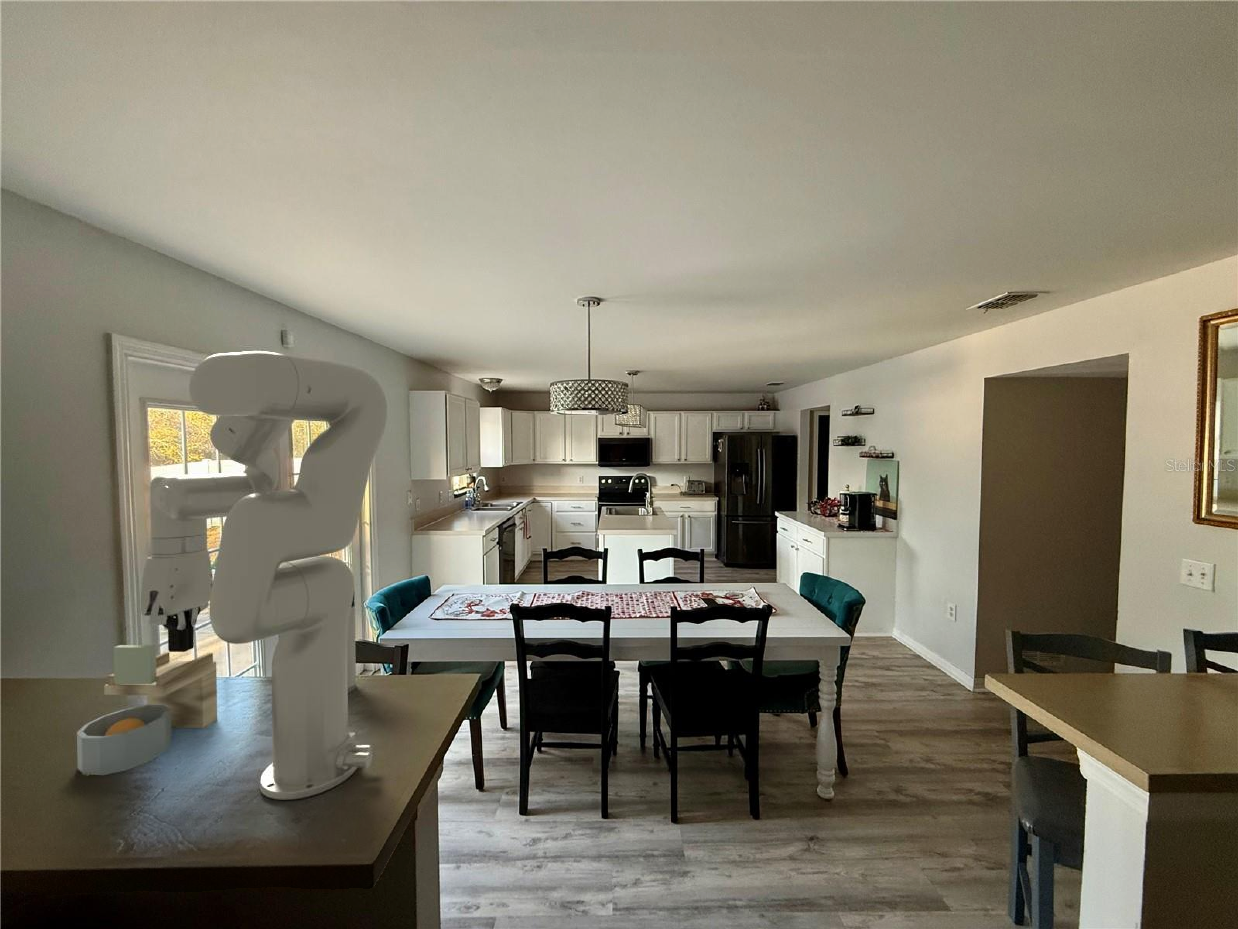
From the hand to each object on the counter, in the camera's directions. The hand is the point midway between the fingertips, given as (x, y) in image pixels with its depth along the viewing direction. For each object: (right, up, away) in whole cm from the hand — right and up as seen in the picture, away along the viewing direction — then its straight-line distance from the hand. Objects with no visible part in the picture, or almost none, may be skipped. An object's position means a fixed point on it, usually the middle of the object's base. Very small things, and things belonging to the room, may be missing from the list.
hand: (181, 650), depth 91 cm
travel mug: (+21, -13, +13) cm, 27 cm away
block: (0, -3, -8) cm, 9 cm away
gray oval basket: (0, -13, -10) cm, 16 cm away
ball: (0, -10, -10) cm, 14 cm away
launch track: (0, -13, -3) cm, 13 cm away
